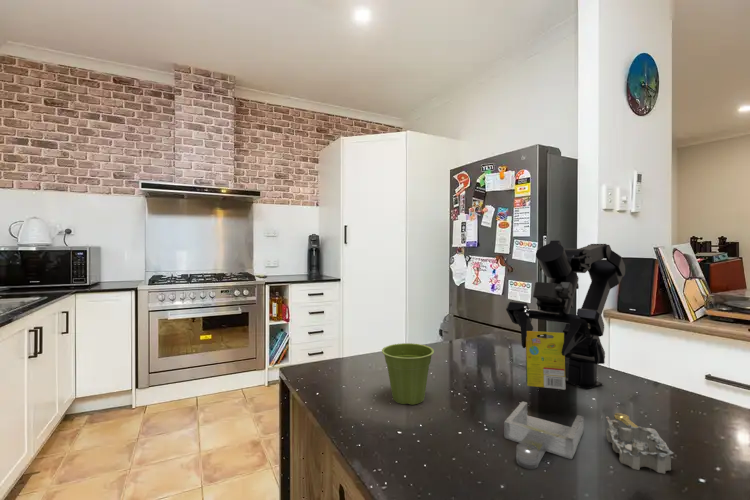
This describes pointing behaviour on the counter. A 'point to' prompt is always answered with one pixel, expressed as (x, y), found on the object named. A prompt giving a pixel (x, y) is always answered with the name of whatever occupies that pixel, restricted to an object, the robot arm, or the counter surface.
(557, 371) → the crayon box
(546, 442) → the grey u-shaped piece
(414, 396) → the plant pot
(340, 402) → the counter surface
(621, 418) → the brass key
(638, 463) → the egg carton
